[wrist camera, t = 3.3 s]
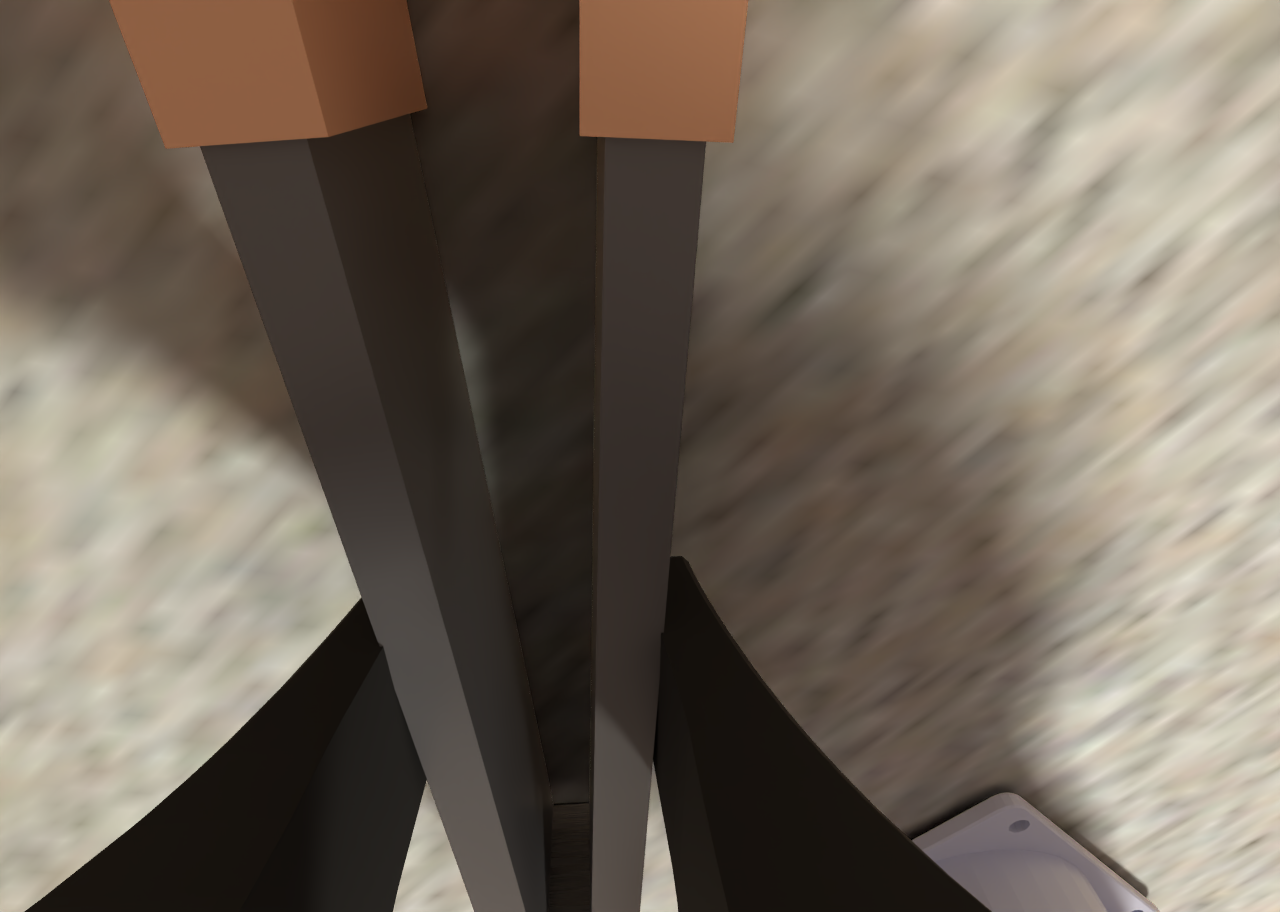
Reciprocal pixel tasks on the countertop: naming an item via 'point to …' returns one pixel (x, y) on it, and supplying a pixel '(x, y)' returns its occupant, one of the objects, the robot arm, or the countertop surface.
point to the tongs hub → (570, 859)
